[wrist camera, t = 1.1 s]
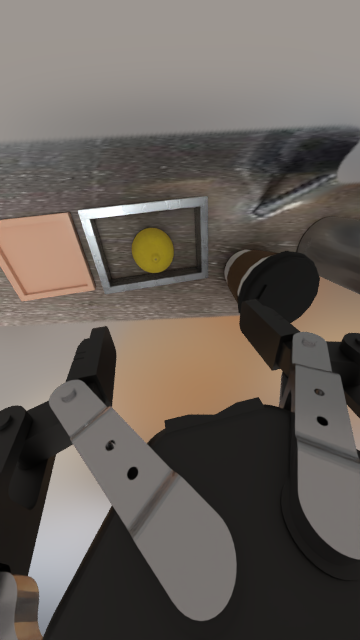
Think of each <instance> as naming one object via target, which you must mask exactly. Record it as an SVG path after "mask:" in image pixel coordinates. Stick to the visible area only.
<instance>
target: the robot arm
mask: <svg viewBox="0 0 360 640" xmlns="http://www.w3.org/2000/svg"><path fill="white" fill-rule="evenodd" d="M297 252H299V253H303V254H305V255H306V256H307V257H308V258H310V259H311V260H312V261H313V262H314V263H315V266H316V267H317V271H318V274H319V276H321V277H323V278H325V279H327V280H329V281H332V282H334V283H336V284H338V285H340V286H343V287H345V288H347V289H349V290H351V291H354V292H356V293H358V294H360V220H358V219H350V218H342V217H334V216H331V217H326V218H323V219H321V220H319V221H318V222H316V223H315V224H314V225H312V226H311V227H310V228H309V229H308V231H307V232H306V233H305V235H304V236H303V238H302V239H301V241H300V244H299V247H298V251H297ZM239 324H240V329H241V331H242V333H243V334H244V335H245V337H246V338H247V339H248V341H249V342H250V343H251V344H252V346H253V347H254V348H255V350H256V351H257V352H258V353H259V355H260V356H261V357H262V358H263V360H264V361H265V362H266V364H267V365H268V366H269V367H270V368H271V370H277V369H281V370H282V371H283V372H282V376H281V388H280V402H279V407H276V406H272V405H263V404H262V402H261V400H260V399H259V397H258V398H254V399H249V400H245V401H242V402H237V403H235V404H233V405H232V406H230V407H228V408H226V409H225V410H223V411H221V412H219V413H218V414H215V415H185V416H181V417H177V418H173V419H169V420H165V429H163V430H162V431H160V432H159V433H157V434H156V435H155V436H154V437H153V438H152V439H150V441H149V442H148V443H147V444H146V443H145V442H144V440H142V438H141V437H140V436H139V435H138V434H137V433H136V432H135V431H134V430H133V429H132V428H131V427H130V426H129V425H128V424H127V423H126V422H125V421H124V420H123V419H122V418H121V417H120V415H118V413H117V412H116V411H115V410H114V409H113V408H112V399H113V389H114V377H115V367H116V349H115V346H114V343H113V340H112V337H111V335H110V332H109V329H108V328H107V326H105V327H99V328H93V329H92V331H91V335H90V338H88V339H84V340H83V341H82V342H81V343H80V345H79V346H78V348H77V351H76V355H75V356H74V361H73V362H72V365H71V368H70V371H69V374H68V377H67V380H66V382H65V383H64V384H62V385H60V386H59V387H58V388H57V389H55V390H54V392H53V393H52V394H51V396H50V399H49V401H47V402H45V403H43V404H41V405H38V406H36V407H34V408H32V409H30V410H28V411H26V410H25V409H24V408H23V407H22V406H11V407H8V408H5V409H3V410H1V411H0V640H360V451H359V450H357V449H356V446H355V441H354V437H353V432H352V428H351V423H350V418H349V414H348V409H347V405H348V406H349V407H350V408H351V409H352V410H353V412H354V413H355V414H356V415H357V416H358V417H359V418H360V334H359V333H348V334H346V335H345V336H344V337H343V339H342V342H327V341H325V340H324V339H323V338H321V337H320V336H318V335H316V334H313V333H309V332H300V331H299V330H298V329H296V328H295V327H294V326H293V325H292V324H290V323H289V322H288V321H287V320H286V319H284V318H283V317H282V316H281V315H279V314H278V313H277V312H276V311H275V310H273V309H271V308H269V307H267V306H263V305H262V304H261V303H260V302H258V301H257V300H256V299H254V300H249V301H243V302H242V304H241V313H240V323H239ZM71 445H74V446H75V448H76V449H77V451H78V453H79V454H80V456H81V457H82V459H83V460H84V462H85V464H86V465H87V466H88V468H89V470H90V471H91V473H92V474H93V476H94V477H95V479H96V481H97V482H98V484H99V485H100V487H101V488H102V490H103V491H104V493H105V495H106V496H107V498H108V499H109V501H110V503H111V504H112V506H111V508H110V510H109V512H108V514H107V516H106V518H105V519H104V521H103V523H102V525H101V527H100V529H99V531H98V532H97V534H96V536H95V538H94V540H93V542H92V543H91V546H90V547H89V549H88V551H87V553H86V555H85V557H84V558H83V560H82V562H81V564H80V566H79V568H78V569H77V571H76V574H75V575H74V577H73V579H72V581H71V583H70V584H69V586H68V588H67V590H66V592H65V594H64V595H63V597H62V599H61V601H60V603H59V605H58V607H57V608H56V610H55V612H54V614H53V616H52V618H51V621H50V623H49V625H48V627H47V629H46V632H45V634H44V637H43V636H42V635H41V633H40V630H39V626H38V605H39V590H38V586H37V583H36V581H35V580H34V579H33V578H31V577H29V576H28V572H29V568H30V564H31V560H32V555H33V551H34V547H35V542H36V538H37V534H38V529H39V525H40V521H41V516H42V512H43V508H44V504H45V499H46V495H47V491H48V486H49V482H50V478H51V474H52V469H53V465H54V461H55V456H56V454H57V453H59V452H60V451H62V450H64V449H66V448H67V447H69V446H71Z"/></svg>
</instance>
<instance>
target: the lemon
mask: <svg viewBox="0 0 360 640" xmlns="http://www.w3.org/2000/svg"><path fill="white" fill-rule="evenodd" d="M132 254H133V258H134V260H135V262H136V263H137V265H138V266H139V267H140V268H142V269H143V270H145V271H147V272H150V273H159V272H162V271H164V270H165V269H167V267H168V266H169V265H170V264H171V262H172V259H173V256H174V248H173V244H172V242H171V239H170V238H169V237H168V235H167V234H166V233H165V232H163V231H162V230H159V229H157V228H147V229H144V230H142V231H140V232H139V233H138V234H137V235H136V237H135V238H134V240H133V243H132Z"/></svg>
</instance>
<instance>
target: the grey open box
mask: <svg viewBox="0 0 360 640" xmlns="http://www.w3.org/2000/svg"><path fill="white" fill-rule="evenodd" d="M188 207H195V233H196V259H197V267H190V268H184V269H177V270H171V271H164V272H159V273H151V274H145V275H138V276H132V277H125V278H118V279H112V278H111V275H110V271H109V268H108V265H107V261H106V258H105V254H104V251H103V248H102V244H101V241H100V237H99V234H98V231H97V227H96V224H95V221H94V218H102V217H110V216H119V215H128V214H136V213H145V212H154V211H162V210H171V209H180V208H188ZM78 213H79V216H80V219H81V222H82V225H83V228H84V231H85V235H86V238H87V241H88V244H89V247H90V250H91V253H92V256H93V259H94V262H95V265H96V268H97V271H98V274H99V277H100V280H101V283H102V286H103V289H104V292H105V294H110V293H116V292H122V291H128V290H135V289H141V288H147V287H153V286H160V285H166V284H172V283H178V282H184V281H191V280H197V279H203V278H208V196H194V197H185V198H176V199H167V200H158V201H149V202H140V203H130V204H121V205H112V206H103V207H94V208H85V209H81V210H78Z"/></svg>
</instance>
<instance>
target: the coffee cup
mask: <svg viewBox="0 0 360 640" xmlns="http://www.w3.org/2000/svg"><path fill="white" fill-rule="evenodd" d="M224 273H225V279H226V281H227V283H228V287H229V289H230V291H231V292H232V294H233V296H234V298H235V300H236V301H237V303H238V310H239V313H241V304H242V302H243V301H249V300H254V299H256V300H257V301H258V302H260V303H261V304H262V305H263V306H267V307H269V308H271V309H273V310H275V311H276V312H277V313H278V314H279V315H281V316H282V317H283V318H284V319H286V320H287V321H288V322H289V323H292V322H293V321H294V320H296V319H298V318H299V317H300V316H301V315H302V314H303V313H304V312H305V311H306V310H307V309H308V308H309V307H310V306H311V304H312V302H313V300H314V298H315V296H316V295H317V292H318V287H319V281H320V278H319V274H318V271H317V267H316V266H315V263H314V262H313V261H312V260H311V259H310V258H308V257H307V256H306V255H305V254H303V253H299V252H290V251H284V252H281V253H274V252H268V251H261V250H242V251H239V252H237V253H235V254H234V255H233V256H232V257H230V259H229V260H228V262H227V263H226V267H225V271H224Z"/></svg>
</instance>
